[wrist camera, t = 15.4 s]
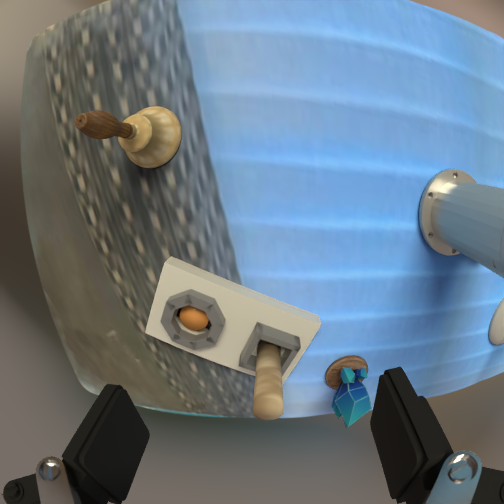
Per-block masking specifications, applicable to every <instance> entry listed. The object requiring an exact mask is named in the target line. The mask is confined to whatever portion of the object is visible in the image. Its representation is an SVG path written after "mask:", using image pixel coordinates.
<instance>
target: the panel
mask: <svg viewBox="0 0 504 504" xmlns="http://www.w3.org/2000/svg"><path fill="white" fill-rule="evenodd" d="M187 305H191V306H193V307H195V308H198V309H200V310H203V311H205V313H206V314H207V316H208V318H209V320H210V322H211V327H210V329H209V330H208V329H206V328H203V329H201V330H191V329H189V328H187V327H186V326H184V325H183V323H182V322H181V320H180V318H179V317H177V313H178V310H179V308H181V307H184V306H187ZM320 326H321V321H320V318H319V315H316V314H313V313H311V312H308V311H305V310H303V309H300V308H297V307H295V306H292V305H290V304H287V303H284V302H282V301H279V300H277V299H274V298H272V297H269V296H266V295H264V294H261V293H259V292H256V291H254V290H251V289H249V288H246V287H244V286H241V285H239V284H236V283H234V282H231V281H229V280H226V279H224V278H222V277H219V276H217V275H214V274H212V273H209V272H207V271H205V270H202V269H200V268H198V267H195V266H193V265H190V264H188V263H186V262H183V261H181V260H179V259H176V258H174V257H172V256H171V257H170V258H169V259H168V260H167V261H166V262H165V263H164V267H163V270H162V273H161V276H160V280H159V283H158V287H157V290H156V294H155V297H154V301H153V305H152V308H151V312H150V316H149V320H148V323H147V327H146V331H145V333H147V334H149V335H151V336H153V337H155V338H158V339H160V340H162V341H164V342H167V343H169V344H171V345H173V346H176V347H178V348H181V349H183V350H185V351H188V352H190V353H193V354H195V355H198V356H200V357H203V358H205V359H208V360H211V361H213V362H216V363H219V364H221V365H224V366H227V367H230V368H232V369H235V370H238V371H241V372H244V373H247V374H250V375H253V376H255V374H256V359H257V345H258V343H259V342H260V341H261V340H265V341H267V342H270V343H273V344H276V345H279V346H281V367H282V385H283V383H284V382H285V381H286V379H287V378H288V376H289V375H290V373H291V372H292V370H293V369H294V367H295V366H296V364H297V363H298V361H299V360H300V358H301V357H302V355H303V353H304V352H305V350H306V349H307V347H308V346H309V344H310V343H311V341H312V339H313V338H314V336H315V334H316V333H317V331H318V330H319V328H320Z"/></svg>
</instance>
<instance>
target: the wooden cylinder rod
mask: <svg viewBox="0 0 504 504" xmlns="http://www.w3.org/2000/svg"><path fill="white" fill-rule="evenodd" d="M253 414H254V415H255V416H256V417H257V418H259V419H262V420H274V419H277V418H279V417H280V416H281V415H282V414H283V391H282V367H281V346H279V345H276V344H273V343H270V342H267V341H265V340H261V341H260V342H259V343H258V345H257V359H256V374H255V388H254V401H253Z"/></svg>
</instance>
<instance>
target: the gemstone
mask: <svg viewBox="0 0 504 504" xmlns="http://www.w3.org/2000/svg"><path fill="white" fill-rule="evenodd" d="M367 373H368V366H367V364H366V362H365V360H364V359H363V358H361V357H359V356H345V357H342V358H340V359H338V360H336V361H335V362H333V363H332V364H331V365H330V366H329V368H328V369H327V371H326V381H327V384H328V385H329V386H330V387H331V388H333V389H337V391H336V393H335V395H334V398H333V402H332V407H333V410H334V412H335V414H336V416H337V418H339V417H340V416H341V415H342V416H343V419H344V423H345V427H346V428H348V427H349V426H350V425H351V424H353V423H354V422H355V421H357V420H358V419H359V418H360V417H362V416H363V415H364V414H365V413H367V412H369V411H370V409H372V408H371V402H370V399H369V395H368V392H367V389H366V387H365V386H364V385H363V383H362V381H363V380H364V379H365V378H367Z"/></svg>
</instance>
